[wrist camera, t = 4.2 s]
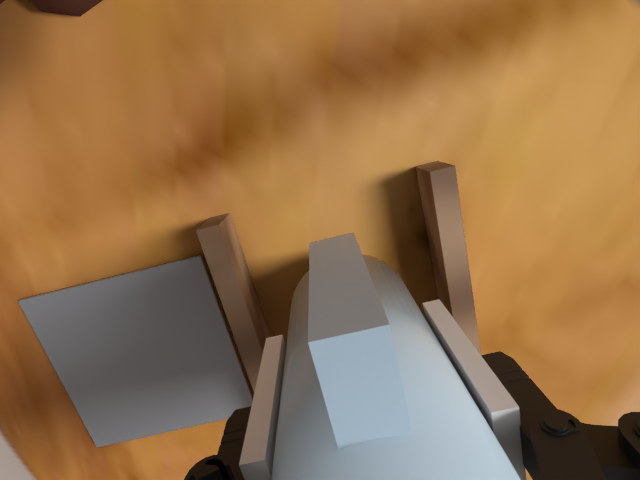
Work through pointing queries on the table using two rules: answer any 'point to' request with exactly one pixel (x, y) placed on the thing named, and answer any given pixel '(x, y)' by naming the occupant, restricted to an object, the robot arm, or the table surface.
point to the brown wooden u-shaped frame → (444, 251)
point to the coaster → (142, 351)
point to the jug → (373, 383)
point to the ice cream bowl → (64, 6)
